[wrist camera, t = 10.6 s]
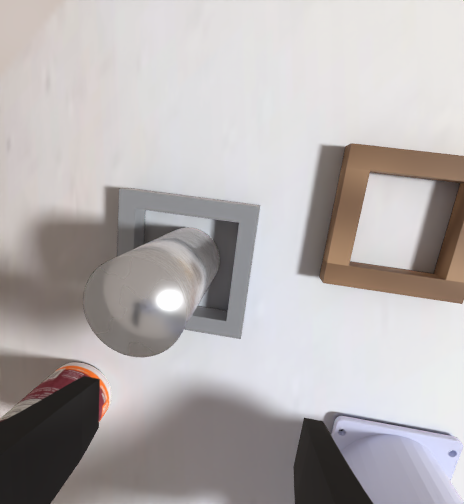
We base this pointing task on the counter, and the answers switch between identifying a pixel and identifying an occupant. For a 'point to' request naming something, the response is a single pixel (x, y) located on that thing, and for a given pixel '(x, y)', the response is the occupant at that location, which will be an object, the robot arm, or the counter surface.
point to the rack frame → (244, 214)
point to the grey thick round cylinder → (150, 292)
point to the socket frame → (348, 213)
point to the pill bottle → (60, 380)
